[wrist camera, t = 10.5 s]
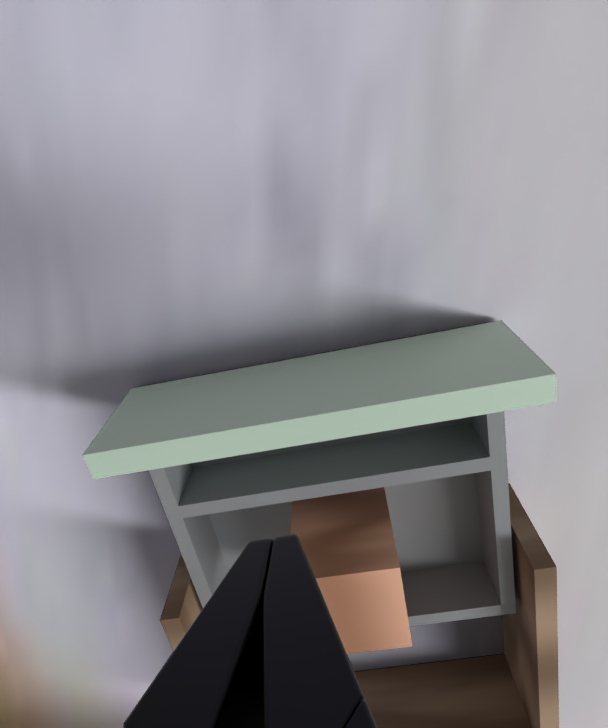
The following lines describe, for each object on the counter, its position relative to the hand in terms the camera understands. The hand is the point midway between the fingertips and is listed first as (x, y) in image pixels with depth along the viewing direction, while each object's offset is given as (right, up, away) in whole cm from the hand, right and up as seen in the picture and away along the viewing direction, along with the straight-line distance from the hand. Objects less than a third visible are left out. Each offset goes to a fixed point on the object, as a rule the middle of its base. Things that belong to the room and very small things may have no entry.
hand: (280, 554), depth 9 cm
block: (+2, -4, +14) cm, 15 cm away
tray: (+2, -2, +15) cm, 15 cm away
